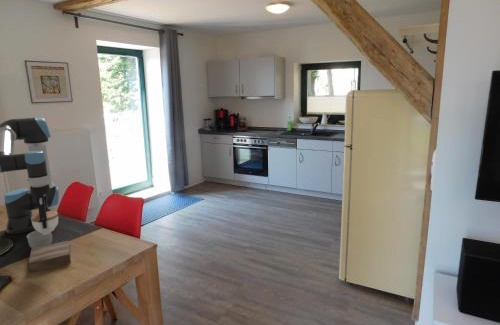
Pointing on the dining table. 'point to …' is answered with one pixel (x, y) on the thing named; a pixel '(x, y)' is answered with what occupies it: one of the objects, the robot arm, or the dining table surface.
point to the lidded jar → (51, 218)
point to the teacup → (39, 239)
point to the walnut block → (49, 256)
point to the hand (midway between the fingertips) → (46, 229)
